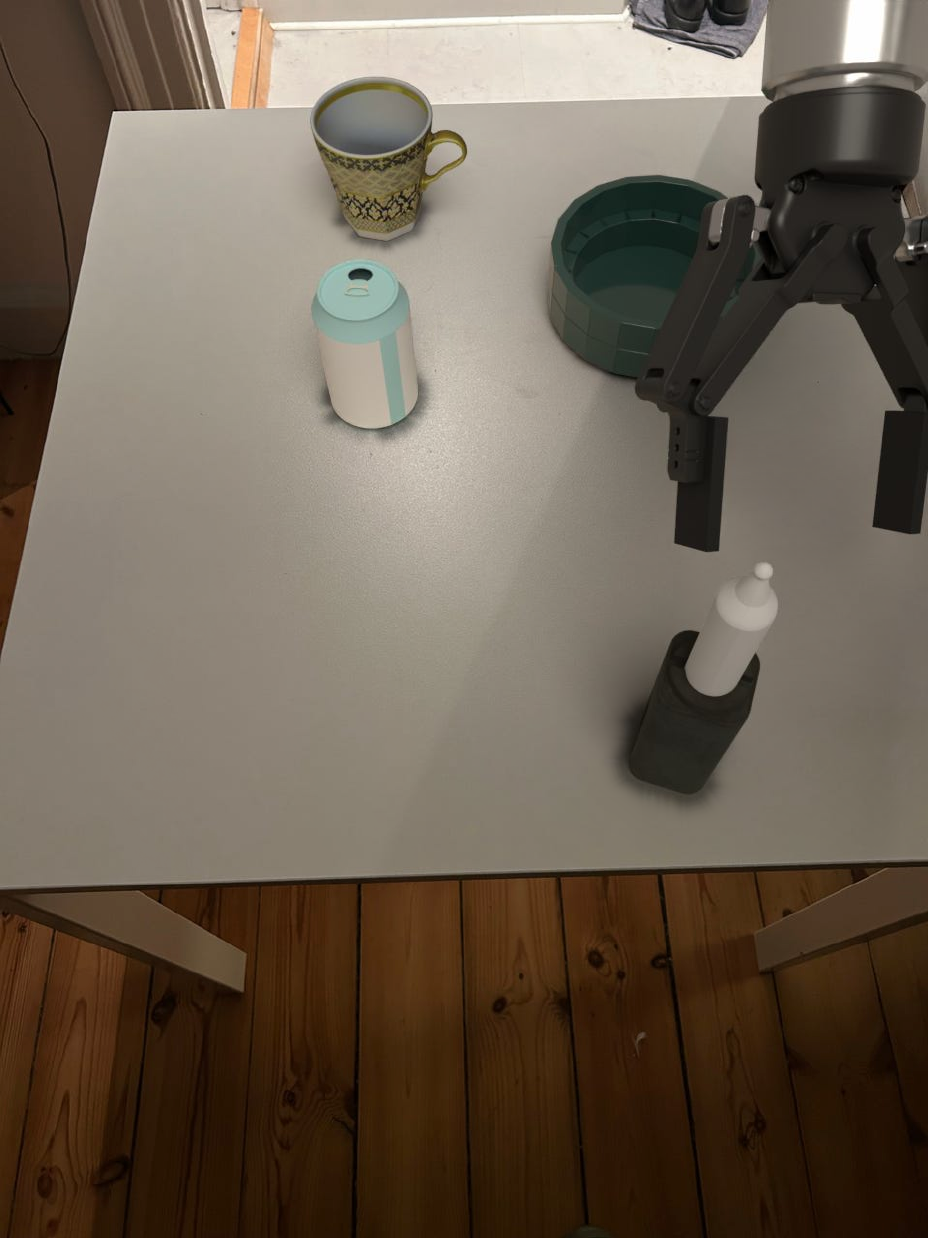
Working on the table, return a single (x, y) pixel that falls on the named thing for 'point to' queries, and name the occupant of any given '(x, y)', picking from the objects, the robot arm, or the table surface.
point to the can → (366, 343)
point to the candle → (705, 687)
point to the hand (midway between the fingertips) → (800, 539)
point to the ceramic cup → (378, 152)
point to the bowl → (626, 266)
